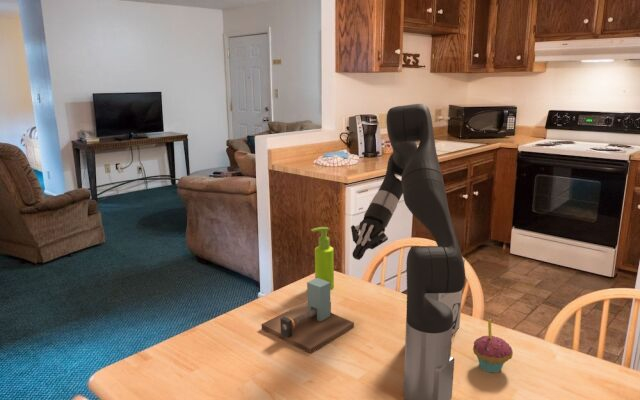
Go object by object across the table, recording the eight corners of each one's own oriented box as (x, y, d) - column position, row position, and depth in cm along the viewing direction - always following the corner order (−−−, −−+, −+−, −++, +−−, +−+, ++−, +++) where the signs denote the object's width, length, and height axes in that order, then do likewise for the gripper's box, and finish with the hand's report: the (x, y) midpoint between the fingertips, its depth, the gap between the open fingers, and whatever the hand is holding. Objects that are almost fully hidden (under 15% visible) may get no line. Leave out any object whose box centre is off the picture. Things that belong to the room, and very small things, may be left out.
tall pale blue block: (330, 316, 133) (330, 282, 131) (320, 321, 130) (320, 287, 128) (317, 310, 136) (317, 277, 134) (307, 315, 133) (307, 282, 131)
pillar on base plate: (353, 327, 131) (354, 307, 129) (310, 354, 119) (309, 332, 117) (305, 306, 142) (305, 288, 141) (261, 329, 130) (260, 309, 129)
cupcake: (464, 360, 115) (467, 314, 112) (493, 353, 118) (497, 308, 115) (488, 381, 107) (492, 332, 104) (518, 373, 110) (524, 325, 107)
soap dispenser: (310, 285, 157) (308, 226, 152) (330, 282, 159) (329, 223, 154) (315, 292, 151) (314, 231, 146) (336, 289, 153) (336, 229, 148)
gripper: (358, 198, 149) (332, 246, 143) (395, 205, 140) (368, 257, 134) (369, 211, 154) (344, 258, 148) (404, 219, 145) (379, 269, 139)
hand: (355, 258), depth 141 cm, fingers closed
